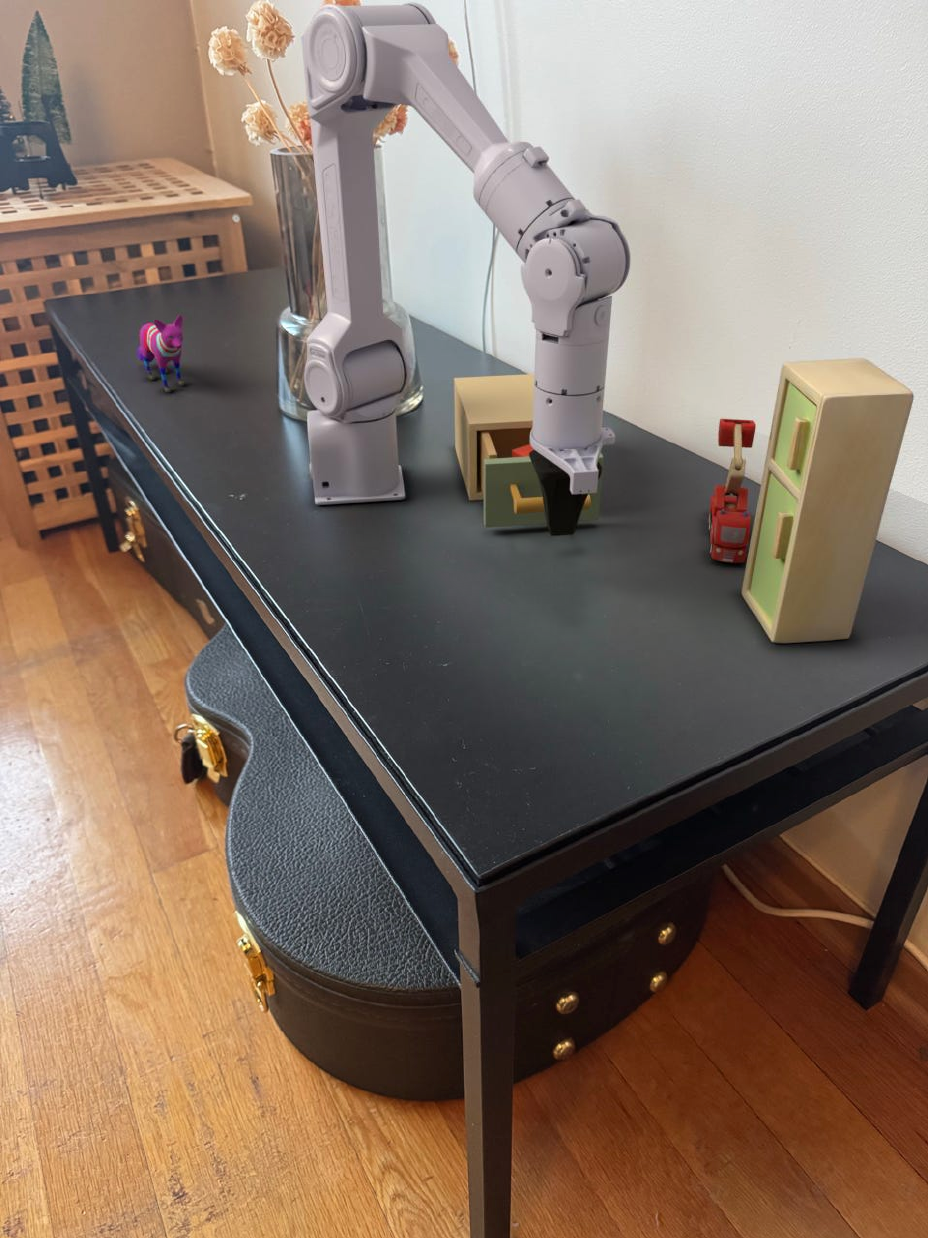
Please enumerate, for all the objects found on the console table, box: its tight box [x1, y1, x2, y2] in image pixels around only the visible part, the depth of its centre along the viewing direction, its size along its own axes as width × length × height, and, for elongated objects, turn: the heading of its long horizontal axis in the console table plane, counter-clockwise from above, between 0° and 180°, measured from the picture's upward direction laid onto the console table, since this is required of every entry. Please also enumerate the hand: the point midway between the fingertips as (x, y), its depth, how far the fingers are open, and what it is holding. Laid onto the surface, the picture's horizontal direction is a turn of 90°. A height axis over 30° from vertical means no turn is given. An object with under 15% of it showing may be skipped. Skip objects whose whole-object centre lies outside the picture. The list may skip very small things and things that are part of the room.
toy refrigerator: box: [741, 357, 915, 644], centre depth 71 cm, size 8×7×21 cm
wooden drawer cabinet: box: [453, 373, 534, 501], centre depth 99 cm, size 14×13×9 cm
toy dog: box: [137, 314, 186, 394], centre depth 124 cm, size 4×18×10 cm, turn 36°
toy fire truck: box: [707, 418, 757, 564], centre depth 87 cm, size 3×14×10 cm, turn 168°
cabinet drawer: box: [477, 428, 605, 529], centre depth 91 cm, size 17×11×7 cm, turn 7°
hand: (560, 531), depth 81 cm, fingers closed
